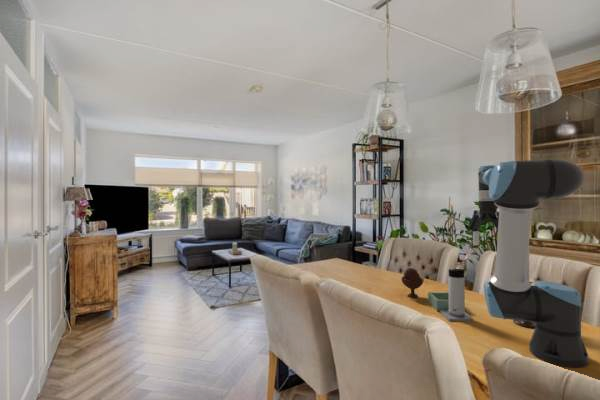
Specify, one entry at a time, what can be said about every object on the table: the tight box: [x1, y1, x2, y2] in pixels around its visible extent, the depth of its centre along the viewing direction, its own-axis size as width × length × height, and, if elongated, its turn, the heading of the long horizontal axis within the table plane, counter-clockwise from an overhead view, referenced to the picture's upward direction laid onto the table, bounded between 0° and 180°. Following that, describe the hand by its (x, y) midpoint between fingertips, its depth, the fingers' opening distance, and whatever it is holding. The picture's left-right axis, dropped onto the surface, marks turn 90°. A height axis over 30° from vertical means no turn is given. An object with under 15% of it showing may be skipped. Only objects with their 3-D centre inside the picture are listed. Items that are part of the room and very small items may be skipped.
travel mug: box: [448, 268, 466, 317], centre depth 140 cm, size 6×7×20 cm
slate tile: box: [439, 310, 474, 322], centre depth 140 cm, size 10×10×1 cm
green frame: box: [427, 291, 449, 312], centre depth 152 cm, size 12×12×5 cm
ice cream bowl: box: [401, 267, 425, 299], centre depth 168 cm, size 11×11×15 cm
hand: (488, 247), depth 145 cm, fingers open, 13 cm apart
